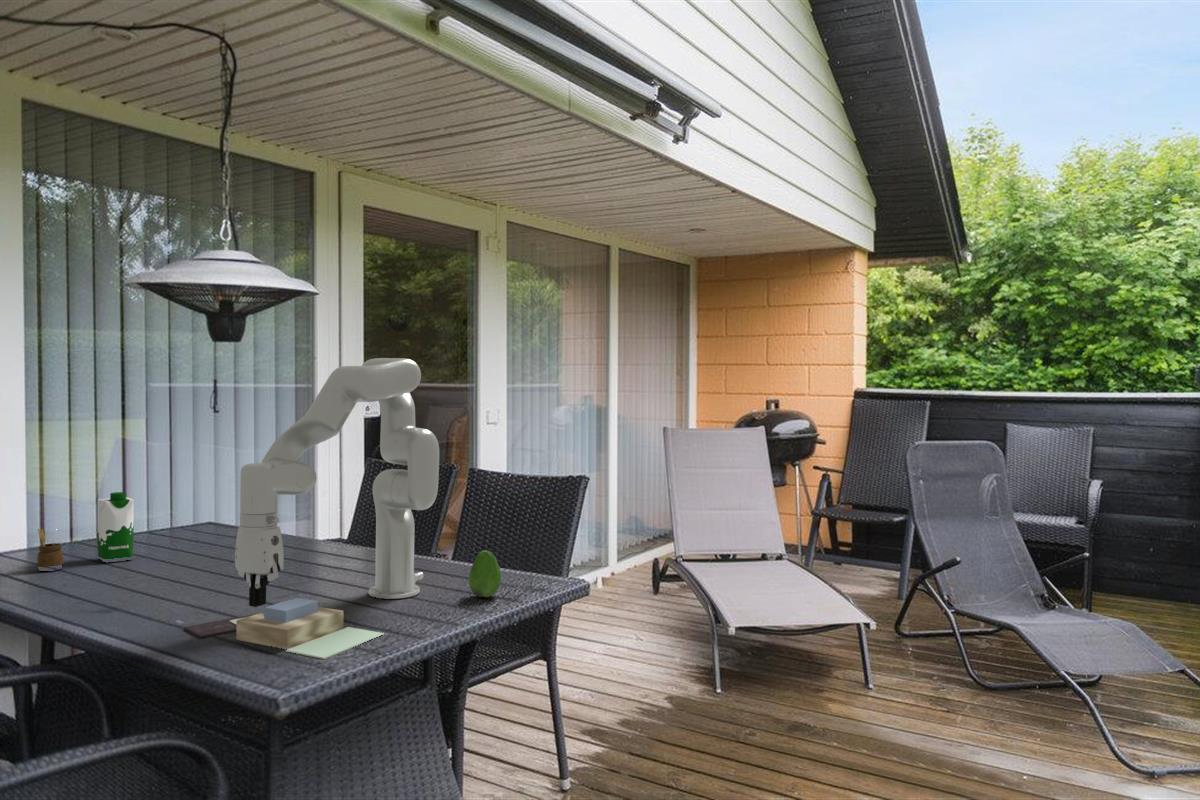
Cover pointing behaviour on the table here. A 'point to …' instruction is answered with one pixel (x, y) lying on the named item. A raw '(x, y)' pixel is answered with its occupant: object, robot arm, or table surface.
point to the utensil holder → (49, 552)
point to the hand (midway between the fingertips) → (257, 604)
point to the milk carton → (115, 526)
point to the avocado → (485, 575)
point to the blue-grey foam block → (290, 610)
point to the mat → (334, 643)
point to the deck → (289, 628)
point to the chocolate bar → (214, 628)
